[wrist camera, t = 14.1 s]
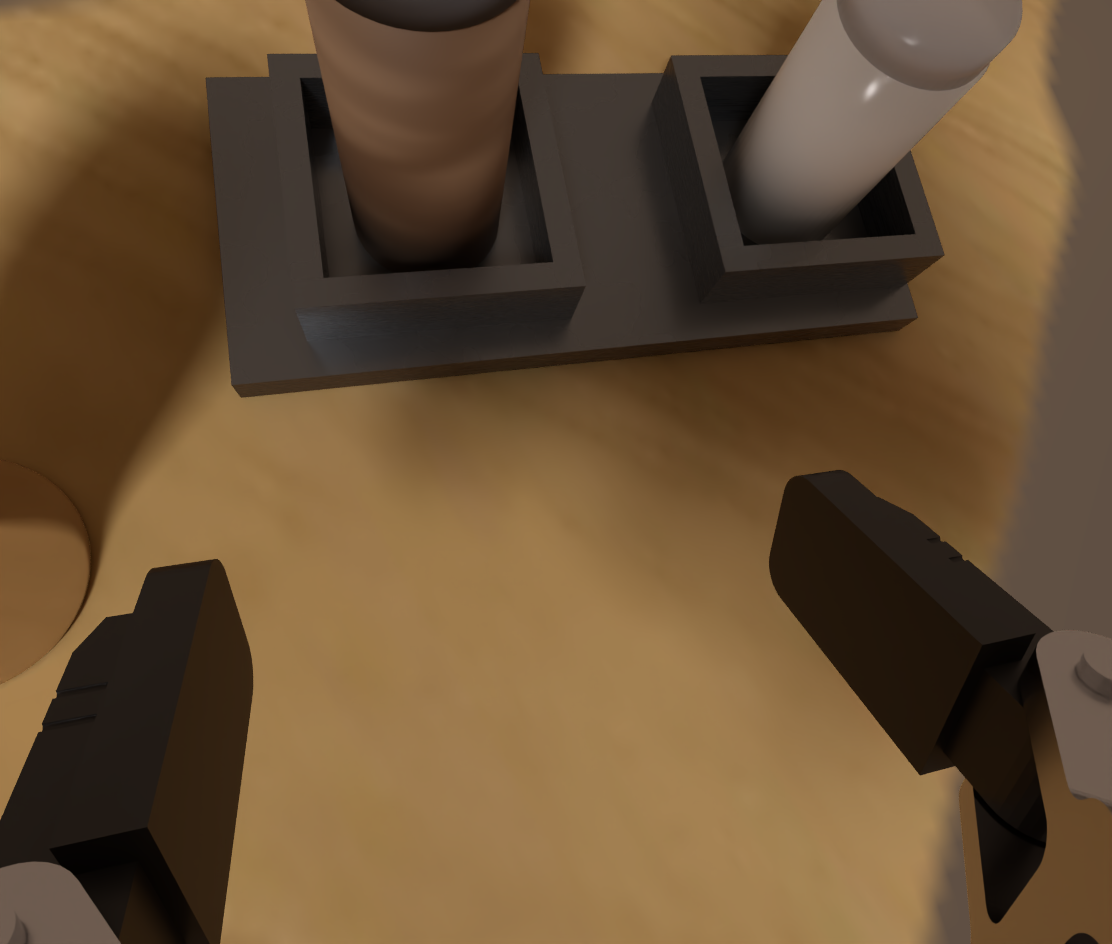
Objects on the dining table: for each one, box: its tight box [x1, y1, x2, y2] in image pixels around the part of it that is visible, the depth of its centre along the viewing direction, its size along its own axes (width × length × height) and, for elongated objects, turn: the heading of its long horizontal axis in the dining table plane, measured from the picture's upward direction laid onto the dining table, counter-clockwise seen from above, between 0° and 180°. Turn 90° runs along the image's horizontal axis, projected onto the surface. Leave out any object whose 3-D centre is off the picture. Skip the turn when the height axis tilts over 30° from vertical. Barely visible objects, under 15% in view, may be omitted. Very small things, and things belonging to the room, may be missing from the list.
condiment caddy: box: [206, 53, 944, 398], centre depth 22 cm, size 22×10×3 cm, turn 101°
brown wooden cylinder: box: [305, 0, 530, 273], centre depth 16 cm, size 4×4×10 cm
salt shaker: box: [722, 0, 1022, 245], centre depth 20 cm, size 4×4×8 cm
